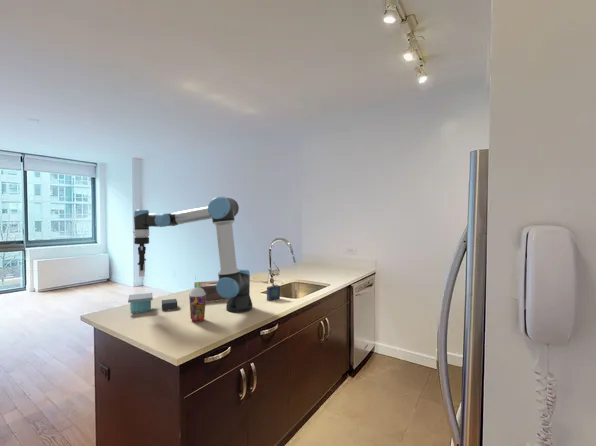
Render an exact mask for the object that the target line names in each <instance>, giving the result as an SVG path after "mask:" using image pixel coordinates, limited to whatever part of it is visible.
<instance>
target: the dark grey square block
mask: <svg viewBox="0 0 596 446" xmlns="http://www.w3.org/2000/svg"><path fill="white" fill-rule="evenodd" d="M161 309H162V310H161V311H162V312H163V311H172V310H178V300H177V298H170V299H163V300H162V299H161Z"/></svg>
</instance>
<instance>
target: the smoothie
mask: <svg viewBox="0 0 596 446" xmlns="http://www.w3.org/2000/svg"><path fill="white" fill-rule="evenodd" d="M196 282H197V287H196V288H192V289H191V290H190V293H189V299H188V300H189V313H190V315H189V316H190V320H191V322H193V323H201V322H202V321H204V318H205V314H206V313H205V312H206V293H205V291H204V289H202V288H200V287H198V282H199V281H196Z"/></svg>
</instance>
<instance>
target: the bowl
mask: <svg viewBox="0 0 596 446" xmlns="http://www.w3.org/2000/svg"><path fill="white" fill-rule="evenodd" d="M129 304H130V305H129V306H130V313H132V314H140V313H141V314H143V313H146V312H150V311H151V310H152V300H151V301H141V302H131V303H129Z"/></svg>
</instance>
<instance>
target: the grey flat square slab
mask: <svg viewBox="0 0 596 446" xmlns="http://www.w3.org/2000/svg"><path fill="white" fill-rule="evenodd" d="M141 301H151V302H152V301H153V292H148V293H145V292H144V293H136V294H135V293H134V294H129V296H128V300H127V303H128V304H130V303H131V302H141Z"/></svg>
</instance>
